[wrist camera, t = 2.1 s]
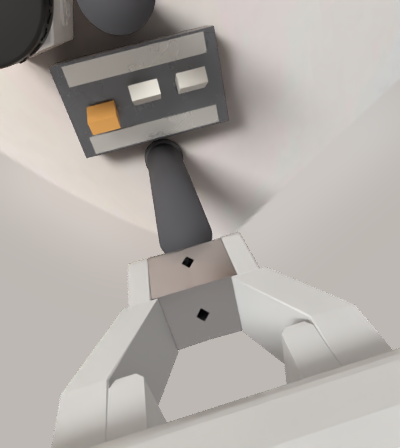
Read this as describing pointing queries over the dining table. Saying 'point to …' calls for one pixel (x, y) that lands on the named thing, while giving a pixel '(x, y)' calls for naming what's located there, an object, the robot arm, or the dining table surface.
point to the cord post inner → (117, 14)
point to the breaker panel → (136, 73)
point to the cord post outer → (175, 199)
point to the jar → (33, 28)
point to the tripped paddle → (103, 117)
